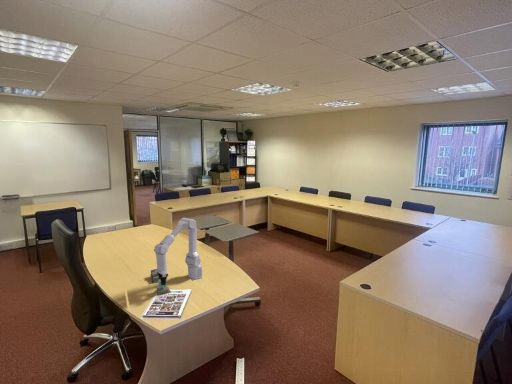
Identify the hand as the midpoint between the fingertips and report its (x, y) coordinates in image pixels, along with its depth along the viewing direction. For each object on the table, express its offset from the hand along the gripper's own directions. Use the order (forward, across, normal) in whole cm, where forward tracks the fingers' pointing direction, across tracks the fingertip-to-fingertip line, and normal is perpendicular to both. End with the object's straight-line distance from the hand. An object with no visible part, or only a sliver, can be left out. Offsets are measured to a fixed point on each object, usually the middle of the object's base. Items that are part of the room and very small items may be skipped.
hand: (162, 283), depth 171 cm
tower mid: (+5, 0, 0) cm, 5 cm away
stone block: (+7, -22, 0) cm, 23 cm away
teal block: (+2, 0, 0) cm, 2 cm away
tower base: (+7, 0, 0) cm, 7 cm away
